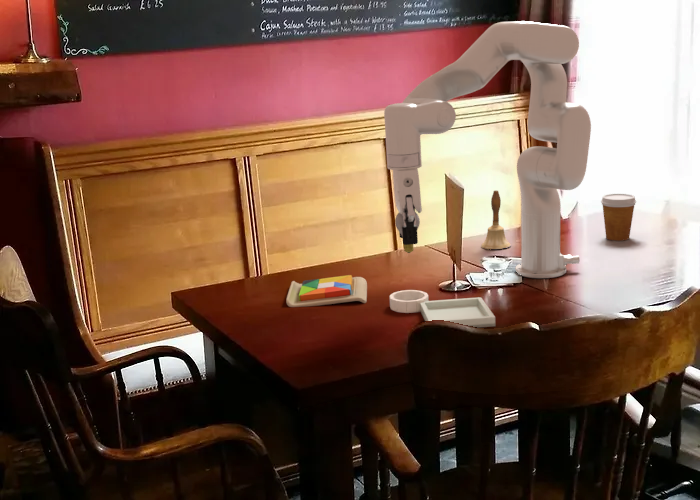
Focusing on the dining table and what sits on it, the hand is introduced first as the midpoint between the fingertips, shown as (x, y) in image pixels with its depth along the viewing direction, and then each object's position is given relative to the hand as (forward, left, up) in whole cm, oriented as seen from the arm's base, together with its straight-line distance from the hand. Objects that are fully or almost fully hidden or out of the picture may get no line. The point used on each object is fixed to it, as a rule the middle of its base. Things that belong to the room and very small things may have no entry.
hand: (408, 239), depth 199 cm
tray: (-9, +10, -16) cm, 21 cm away
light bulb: (0, 0, -3) cm, 3 cm away
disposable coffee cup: (-66, -48, -16) cm, 83 cm away
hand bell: (-31, -48, -16) cm, 59 cm away
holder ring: (0, 0, -16) cm, 16 cm away
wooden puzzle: (+18, -14, -16) cm, 28 cm away
